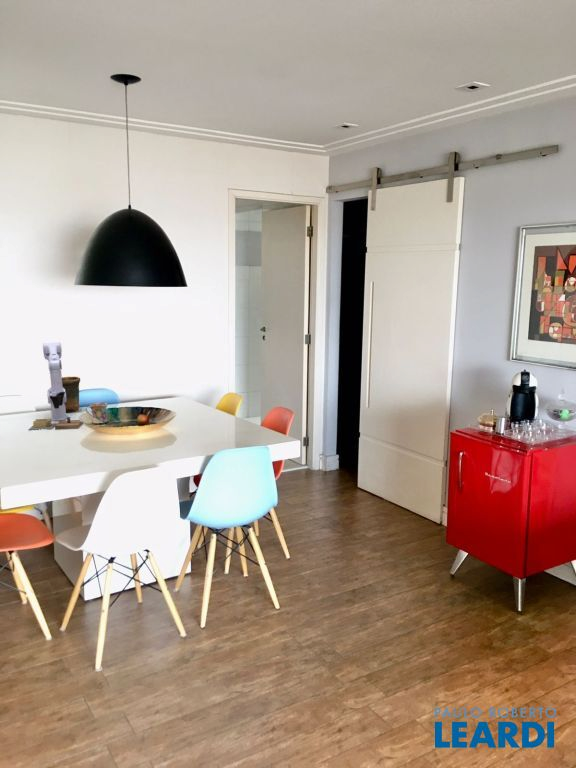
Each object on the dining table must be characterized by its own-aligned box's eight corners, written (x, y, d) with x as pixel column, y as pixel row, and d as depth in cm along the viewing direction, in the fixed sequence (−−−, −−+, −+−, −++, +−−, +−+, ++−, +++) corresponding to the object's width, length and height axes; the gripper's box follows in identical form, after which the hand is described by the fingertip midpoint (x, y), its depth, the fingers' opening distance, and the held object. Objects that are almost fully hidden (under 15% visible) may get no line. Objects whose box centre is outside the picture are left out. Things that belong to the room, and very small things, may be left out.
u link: (51, 424, 361) (51, 418, 360) (49, 427, 355) (48, 420, 355) (36, 425, 360) (35, 419, 359) (33, 427, 355) (33, 421, 354)
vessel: (85, 407, 405) (82, 375, 401) (79, 413, 391) (76, 380, 387) (61, 408, 404) (58, 376, 400) (54, 414, 390) (51, 381, 386)
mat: (34, 424, 363) (34, 424, 363) (57, 424, 364) (57, 423, 364) (28, 430, 351) (28, 429, 351) (51, 429, 352) (51, 428, 352)
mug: (111, 421, 368) (109, 402, 367) (105, 425, 359) (104, 405, 357) (89, 421, 369) (88, 402, 367) (83, 425, 360) (82, 406, 358)
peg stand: (60, 424, 363) (59, 415, 362) (83, 423, 364) (82, 414, 364) (55, 429, 352) (54, 420, 351) (78, 428, 353) (77, 419, 352)
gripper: (52, 380, 365) (54, 404, 367) (45, 384, 351) (47, 410, 353) (65, 379, 366) (67, 403, 368) (59, 384, 351) (61, 409, 354)
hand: (58, 406), depth 361 cm, fingers open, 7 cm apart
